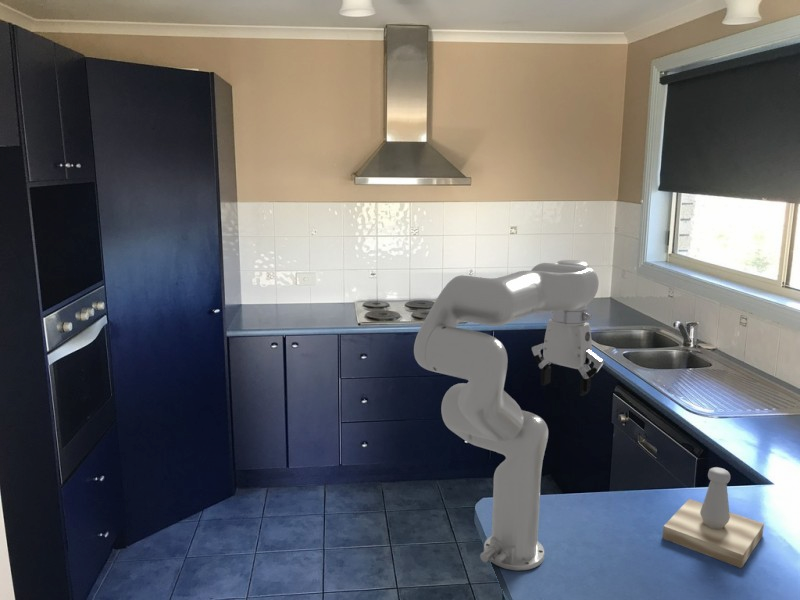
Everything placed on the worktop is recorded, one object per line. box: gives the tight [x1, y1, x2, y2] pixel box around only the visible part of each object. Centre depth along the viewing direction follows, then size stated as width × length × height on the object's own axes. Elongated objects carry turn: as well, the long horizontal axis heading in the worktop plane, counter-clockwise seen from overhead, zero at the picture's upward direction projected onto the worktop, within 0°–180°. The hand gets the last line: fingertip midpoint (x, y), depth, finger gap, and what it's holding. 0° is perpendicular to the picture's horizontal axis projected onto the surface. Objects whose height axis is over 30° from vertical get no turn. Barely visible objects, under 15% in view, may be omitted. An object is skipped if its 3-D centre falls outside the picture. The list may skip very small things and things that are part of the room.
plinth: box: [662, 498, 765, 569], centre depth 143 cm, size 16×16×3 cm
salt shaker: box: [700, 466, 731, 530], centre depth 141 cm, size 6×6×13 cm
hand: (564, 388), depth 148 cm, fingers open, 9 cm apart
